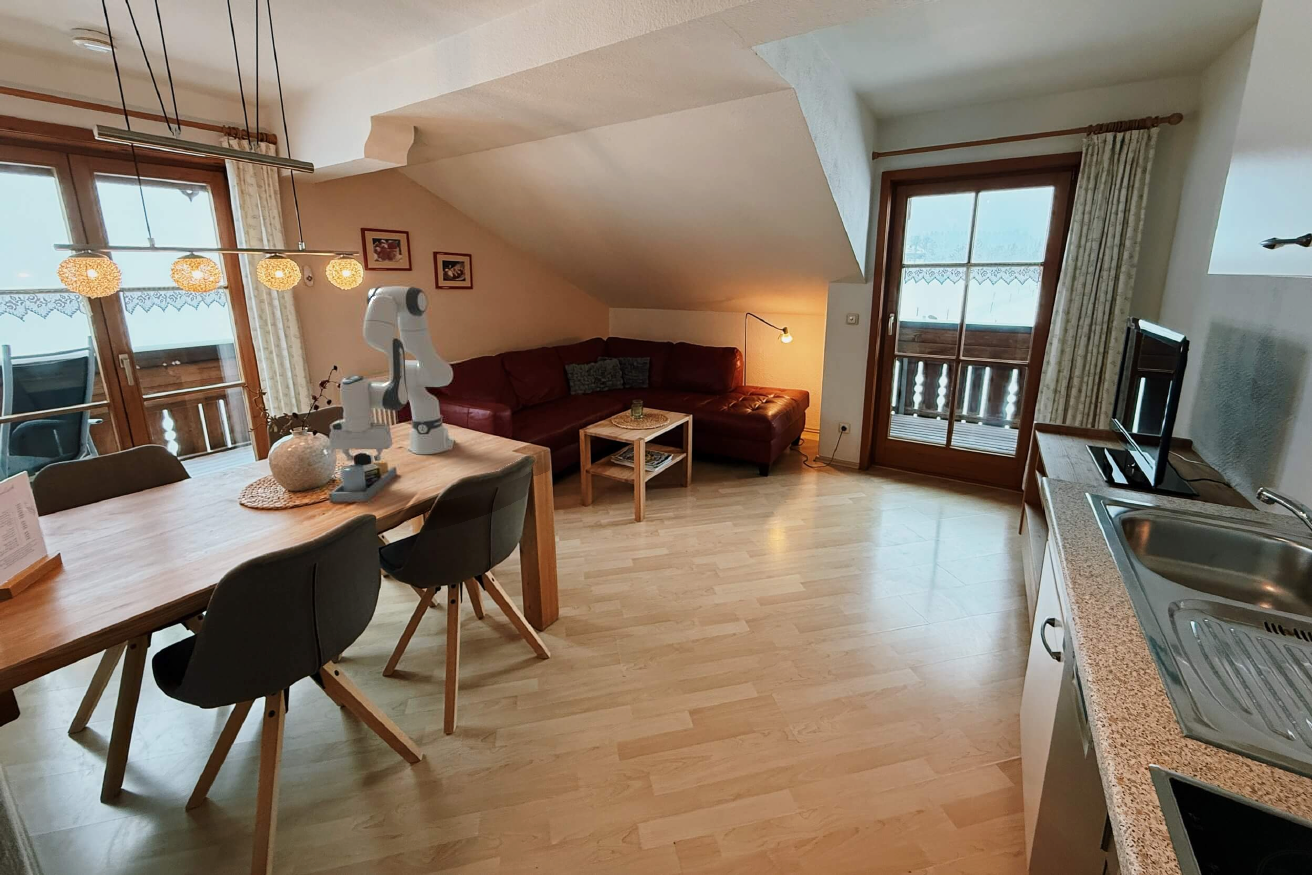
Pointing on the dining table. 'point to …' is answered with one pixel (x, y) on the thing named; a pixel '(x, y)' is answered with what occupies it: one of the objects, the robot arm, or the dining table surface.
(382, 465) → the block
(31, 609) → the dining table surface
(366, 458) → the medicine bottle
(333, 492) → the blue-grey tray
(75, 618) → the dining table surface
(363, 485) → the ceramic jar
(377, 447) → the robot arm
